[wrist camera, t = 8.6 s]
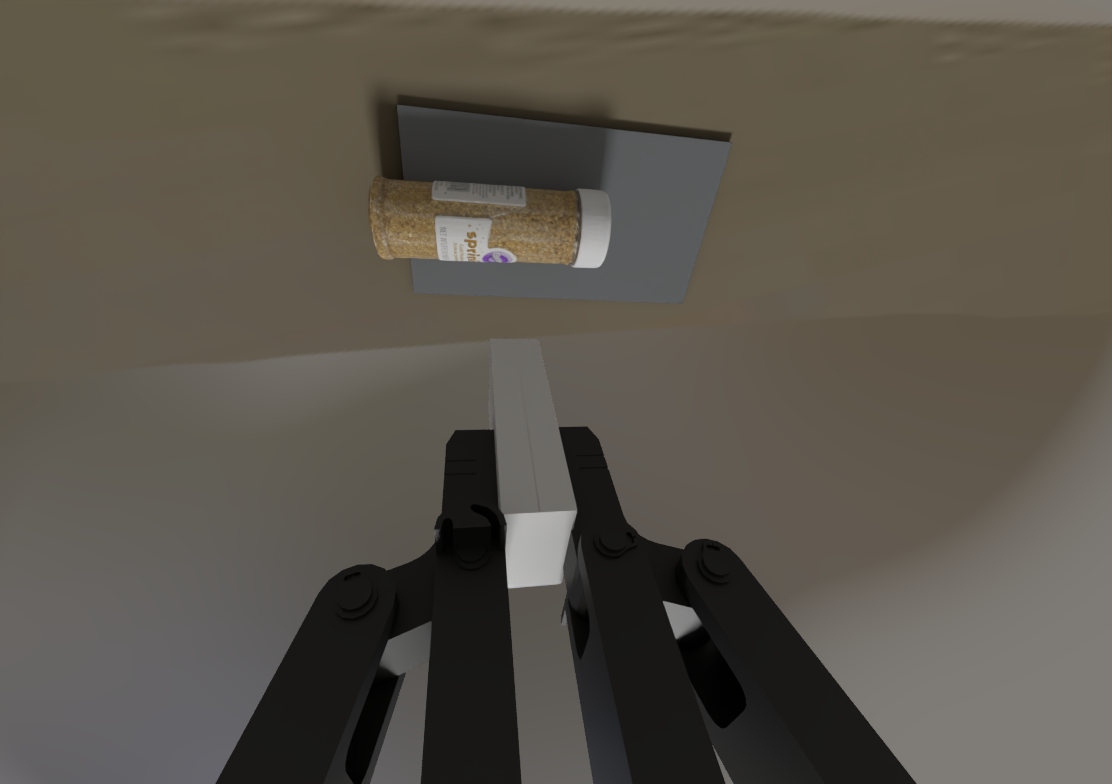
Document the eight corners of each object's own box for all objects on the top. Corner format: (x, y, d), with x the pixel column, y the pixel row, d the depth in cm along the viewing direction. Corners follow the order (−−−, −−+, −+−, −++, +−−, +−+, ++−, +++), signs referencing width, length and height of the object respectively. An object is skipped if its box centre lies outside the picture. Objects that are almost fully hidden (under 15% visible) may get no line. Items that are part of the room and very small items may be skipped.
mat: (414, 290, 31) (413, 293, 30) (397, 104, 24) (396, 104, 24) (680, 301, 34) (682, 303, 34) (729, 141, 28) (732, 142, 27)
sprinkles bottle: (369, 256, 24) (611, 266, 26) (363, 163, 22) (616, 182, 25) (387, 261, 28) (593, 270, 30) (383, 184, 27) (596, 198, 29)
